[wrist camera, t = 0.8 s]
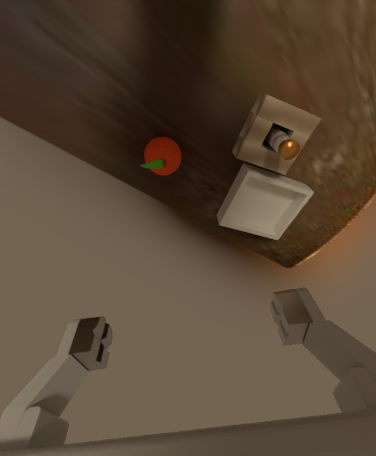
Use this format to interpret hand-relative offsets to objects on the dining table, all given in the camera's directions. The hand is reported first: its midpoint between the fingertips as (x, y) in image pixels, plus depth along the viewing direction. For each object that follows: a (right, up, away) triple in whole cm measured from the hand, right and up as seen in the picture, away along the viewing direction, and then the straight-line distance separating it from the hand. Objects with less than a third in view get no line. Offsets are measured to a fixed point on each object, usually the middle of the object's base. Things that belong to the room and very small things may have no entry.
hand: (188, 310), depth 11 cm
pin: (+16, +23, +33) cm, 43 cm away
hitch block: (+16, +22, +33) cm, 43 cm away
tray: (+17, +11, +43) cm, 47 cm away
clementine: (-5, +19, +35) cm, 40 cm away
